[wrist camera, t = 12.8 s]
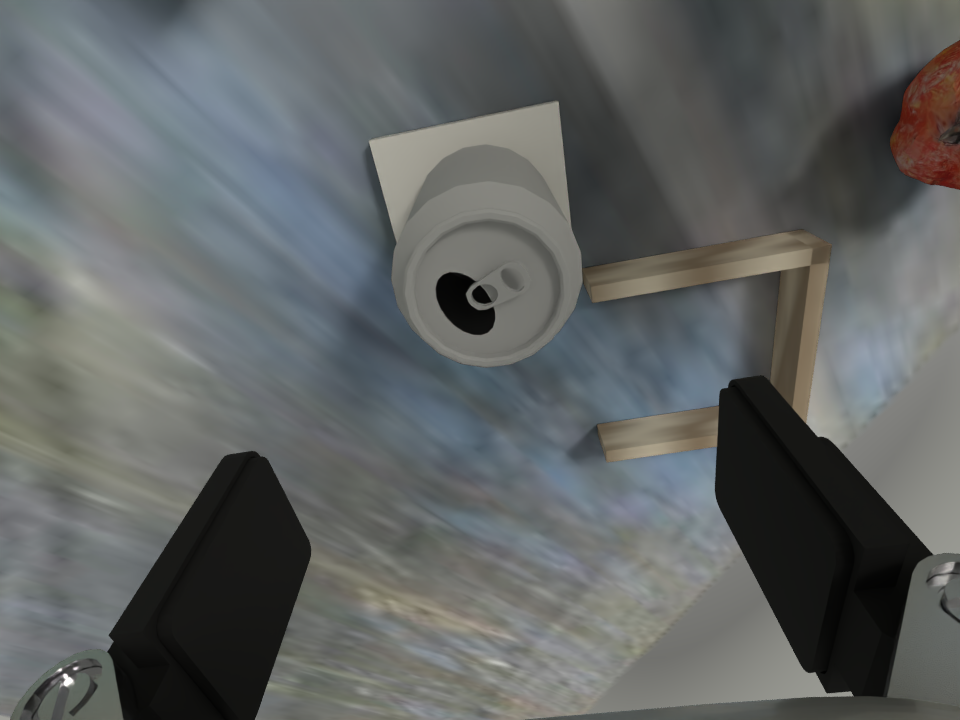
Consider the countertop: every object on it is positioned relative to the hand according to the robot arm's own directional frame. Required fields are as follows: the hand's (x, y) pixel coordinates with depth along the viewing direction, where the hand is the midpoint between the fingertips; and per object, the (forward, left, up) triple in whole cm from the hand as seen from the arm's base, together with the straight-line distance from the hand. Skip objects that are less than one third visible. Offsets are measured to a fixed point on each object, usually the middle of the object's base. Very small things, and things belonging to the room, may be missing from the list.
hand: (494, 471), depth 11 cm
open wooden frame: (-12, +11, -22) cm, 28 cm away
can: (0, 0, -22) cm, 22 cm away
